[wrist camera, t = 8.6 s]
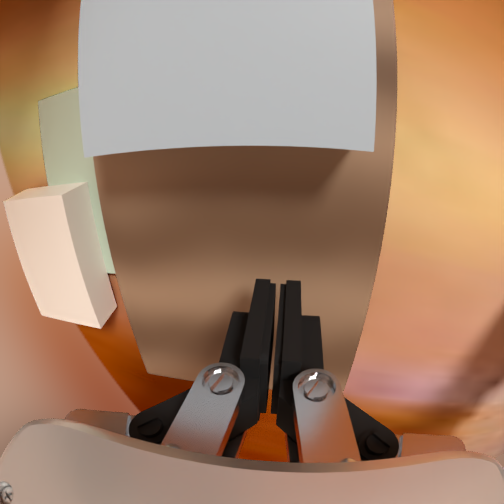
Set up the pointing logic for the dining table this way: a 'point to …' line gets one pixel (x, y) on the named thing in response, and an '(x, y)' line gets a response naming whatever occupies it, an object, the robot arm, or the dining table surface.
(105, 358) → the dining table surface
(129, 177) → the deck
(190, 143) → the gray rectangular block
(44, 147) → the mat
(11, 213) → the cream block
